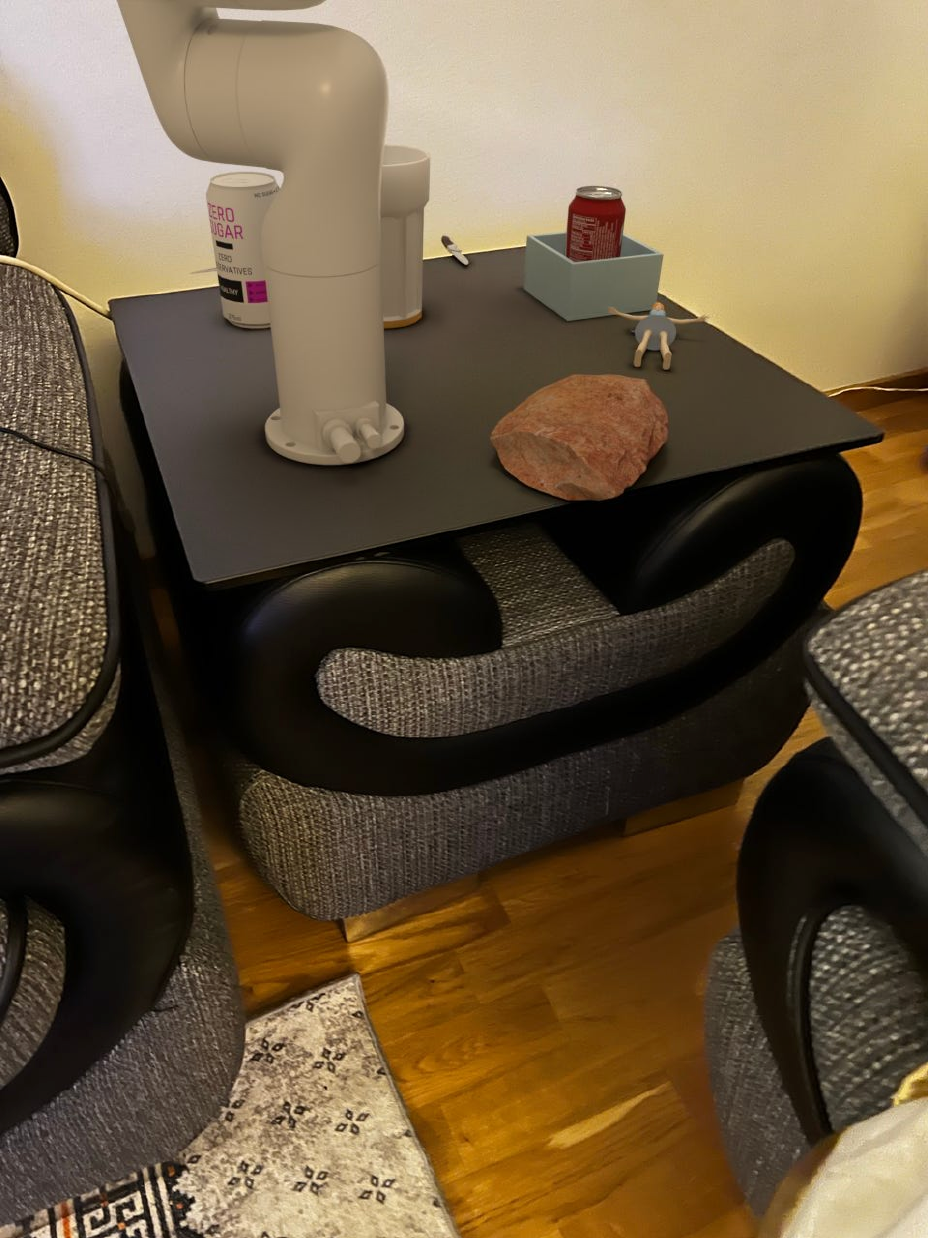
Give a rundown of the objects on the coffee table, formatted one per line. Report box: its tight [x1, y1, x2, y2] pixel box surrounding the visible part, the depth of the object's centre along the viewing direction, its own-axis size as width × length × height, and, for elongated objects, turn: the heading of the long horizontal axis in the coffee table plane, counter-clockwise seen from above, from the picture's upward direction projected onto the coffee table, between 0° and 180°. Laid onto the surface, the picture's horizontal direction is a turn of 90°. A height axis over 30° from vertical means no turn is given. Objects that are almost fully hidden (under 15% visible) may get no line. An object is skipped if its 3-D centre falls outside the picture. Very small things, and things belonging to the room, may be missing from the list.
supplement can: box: [205, 171, 281, 329], centre depth 101 cm, size 8×8×15 cm
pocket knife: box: [440, 234, 469, 266], centre depth 127 cm, size 14×1×2 cm
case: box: [523, 231, 665, 322], centre depth 111 cm, size 12×12×7 cm
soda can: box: [564, 185, 627, 262], centre depth 109 cm, size 7×7×12 cm
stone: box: [489, 373, 669, 502], centre depth 80 cm, size 14×6×20 cm
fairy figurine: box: [607, 301, 710, 371], centre depth 100 cm, size 12×5×12 cm
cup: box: [380, 143, 431, 330], centre depth 102 cm, size 11×11×17 cm
